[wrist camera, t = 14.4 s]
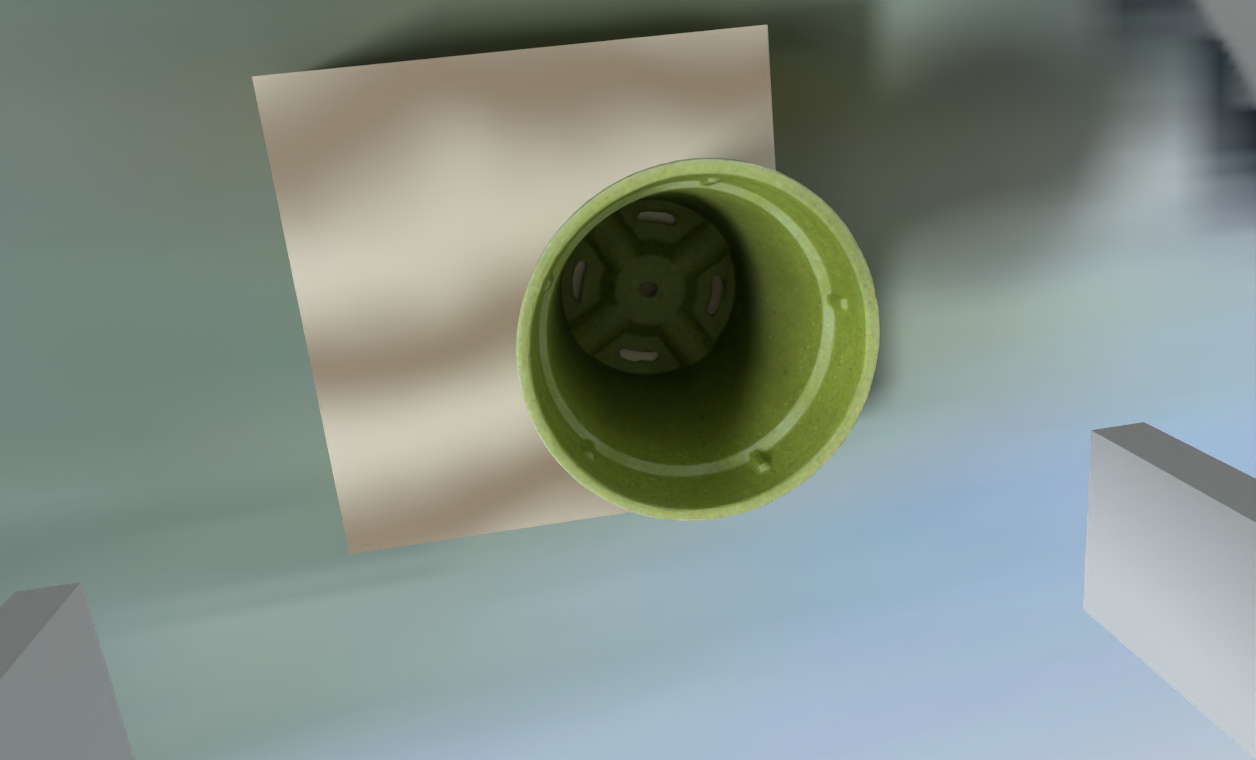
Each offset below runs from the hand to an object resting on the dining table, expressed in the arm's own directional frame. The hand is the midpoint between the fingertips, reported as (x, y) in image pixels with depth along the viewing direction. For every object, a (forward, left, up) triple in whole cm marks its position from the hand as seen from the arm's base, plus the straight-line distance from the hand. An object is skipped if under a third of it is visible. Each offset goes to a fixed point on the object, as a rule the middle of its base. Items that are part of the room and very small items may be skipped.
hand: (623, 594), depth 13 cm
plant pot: (0, +4, -21) cm, 21 cm away
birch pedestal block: (0, 0, -26) cm, 26 cm away
